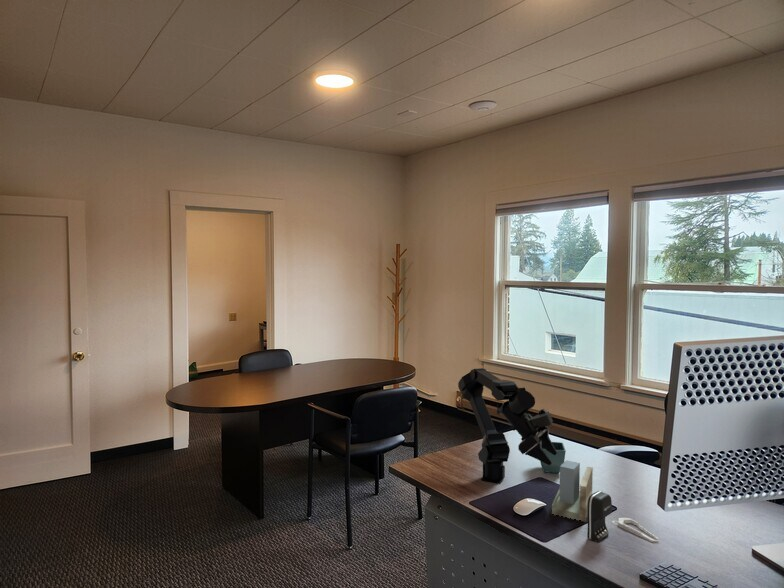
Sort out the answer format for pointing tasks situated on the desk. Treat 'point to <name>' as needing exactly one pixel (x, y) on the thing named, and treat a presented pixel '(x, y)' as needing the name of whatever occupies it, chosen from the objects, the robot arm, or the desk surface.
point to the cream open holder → (581, 505)
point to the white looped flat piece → (630, 529)
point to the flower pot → (554, 458)
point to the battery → (598, 515)
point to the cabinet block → (569, 482)
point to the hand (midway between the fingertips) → (553, 459)
